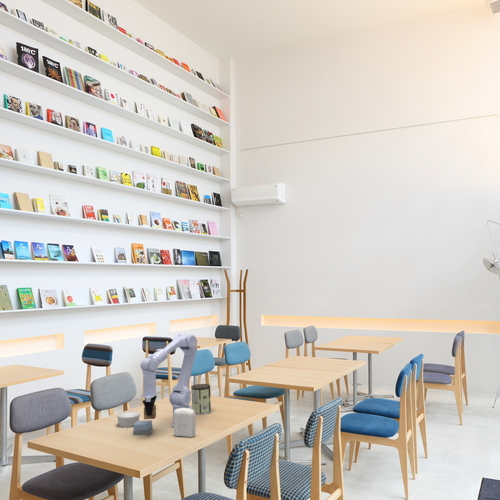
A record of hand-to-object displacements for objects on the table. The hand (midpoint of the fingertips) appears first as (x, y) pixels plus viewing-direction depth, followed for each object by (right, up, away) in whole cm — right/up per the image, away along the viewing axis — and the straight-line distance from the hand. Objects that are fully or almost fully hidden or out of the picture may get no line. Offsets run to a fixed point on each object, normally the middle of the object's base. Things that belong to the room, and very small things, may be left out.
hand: (150, 414), depth 221 cm
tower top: (-4, -8, +4) cm, 10 cm away
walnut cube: (0, -2, 0) cm, 2 cm away
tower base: (-4, -10, +4) cm, 12 cm away
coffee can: (+20, -12, +36) cm, 43 cm away
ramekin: (-14, -11, +17) cm, 25 cm away
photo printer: (+17, -9, -4) cm, 19 cm away
